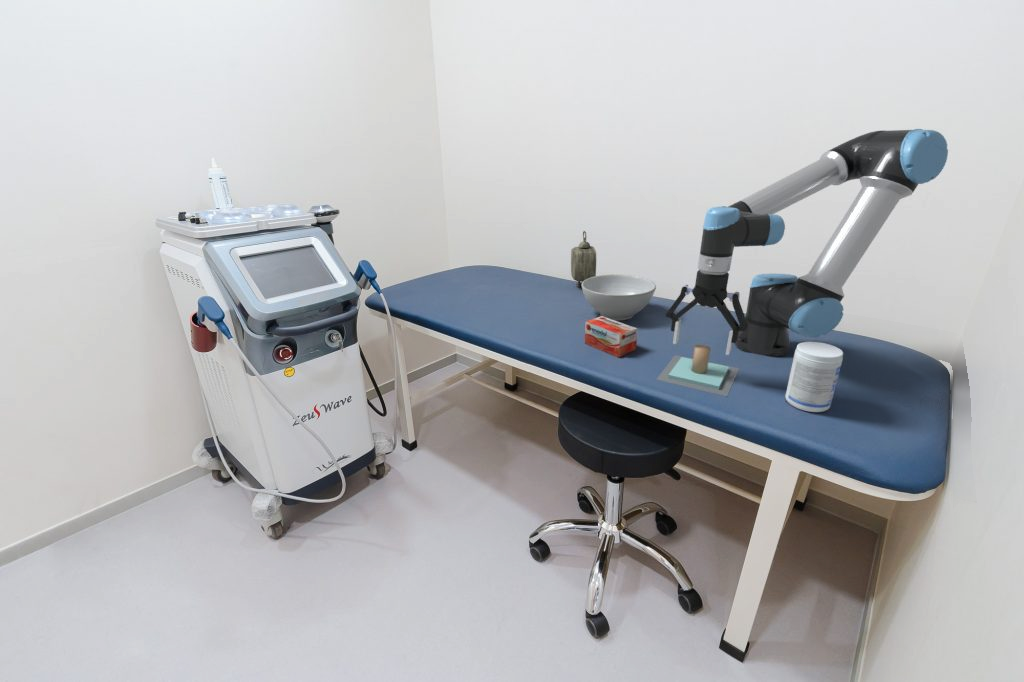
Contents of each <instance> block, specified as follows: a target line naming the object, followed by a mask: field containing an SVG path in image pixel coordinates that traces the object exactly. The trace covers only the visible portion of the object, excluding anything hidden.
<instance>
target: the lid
mask: <svg viewBox="0 0 1024 682" xmlns="http://www.w3.org/2000/svg"><path fill="white" fill-rule="evenodd" d="M693 349H694V350H693V355H692V358H691V359H689V358H690V357H687V358H684V357H685V356H682V357H681V358H680V360H679V361H678V362H677V364H676V365H675V367H674V368H673V369H672V371H671V372H670V374H669V376H668V378H670V379H675V380H679V381H683V382H688V383H692V384H696V385H701V386H705V387H709V388H714V389H718V390H719V388H720V386H721V384H722V382H723V380H724V378H725V376H726V374H727V372H728V369H729V367H728V366H729V365H726V366H723V365H724V364H721V365H718V364H719V363H716V364H713V363H714V362H711V363H708V362H710V361H709V360H710V354H711V347H710V346H708V345H705V344H696V345H694V347H693Z"/></svg>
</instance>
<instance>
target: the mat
mask: <svg viewBox="0 0 1024 682" xmlns="http://www.w3.org/2000/svg"><path fill="white" fill-rule="evenodd" d="M681 357H684V358H689V359H692V358H691V357H686V356H682V355H681V356H680V355H676V354H675V355H674V356H673V357H672V358H671V359H670V361H669V362H668V364H667V365H666V366H665V367H664V369H663V370H662V372H660V374H659V375H658V376H657V378H656V381H660V382H664V383H668V384H672V385H677V386H681V387H685V388H690V389H694V390H698V391H701V392H707V393H711V394H714V395H720V396H723V397H728V395H729V393H730V391H731V389H732V386H733V384H734V382H735V381H736V380H735V379H736V378H737V375H738V373H739V371H740V367H735V366H729V365H725V364H720V363H715V362H710V361H708V363H713V364H718V365H723V366H728V367H729V369H728V372H727V374H726V376H725V378H724V380H723V382H722V384H721V386H720V388H719V390H718V389H714V388H709V387H705V386H701V385H696V384H692V383H688V382H683V381H679V380H675V379H670V378H668V376H669V374H670V372H671V371H672V369H673V368H674V367H675V365H676V364H677V362H678V361H679V360H680V358H681Z"/></svg>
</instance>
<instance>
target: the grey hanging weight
mask: <svg viewBox="0 0 1024 682" xmlns="http://www.w3.org/2000/svg"><path fill="white" fill-rule="evenodd" d="M582 239H583V240H582V241H581V242H579V244H578V246H574V247H573V248H571V249H570V250H571V251H570V252H571V253H570V275H571V277H572V279H573V280H574V281H576V282H577V284H575V285H576V286H575V287H577V288H580V287H581V285H580V283H582V282H583V281H584V280H586V279H588V278H591V277H595V276H597V251H596V249H595V247H594V246H592V245H590V243H589V241H587V232H586V231H585V230H583V231H582Z"/></svg>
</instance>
